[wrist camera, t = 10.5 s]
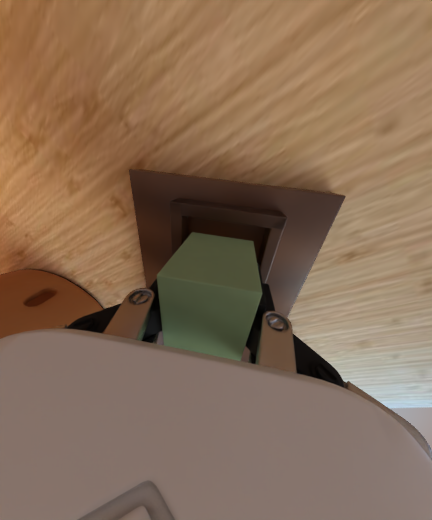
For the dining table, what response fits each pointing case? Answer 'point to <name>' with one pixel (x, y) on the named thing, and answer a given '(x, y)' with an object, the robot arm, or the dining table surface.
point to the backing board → (234, 225)
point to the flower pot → (40, 301)
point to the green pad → (210, 295)
